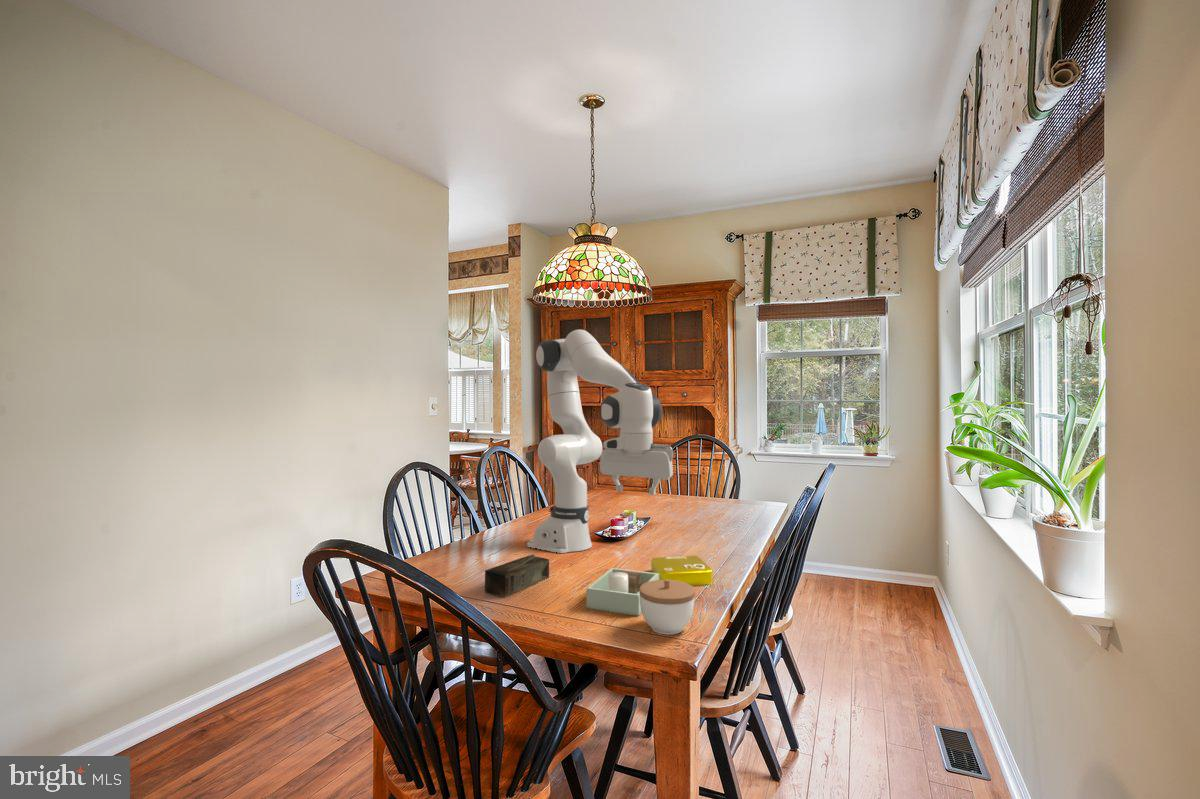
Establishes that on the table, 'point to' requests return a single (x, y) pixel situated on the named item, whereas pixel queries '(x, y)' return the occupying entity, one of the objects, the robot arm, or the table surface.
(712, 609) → the table surface
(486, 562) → the table surface
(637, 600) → the tote
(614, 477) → the robot arm
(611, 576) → the white rounded cylinder
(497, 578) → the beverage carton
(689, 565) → the element tile
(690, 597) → the lidded bowl
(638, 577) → the walnut block
